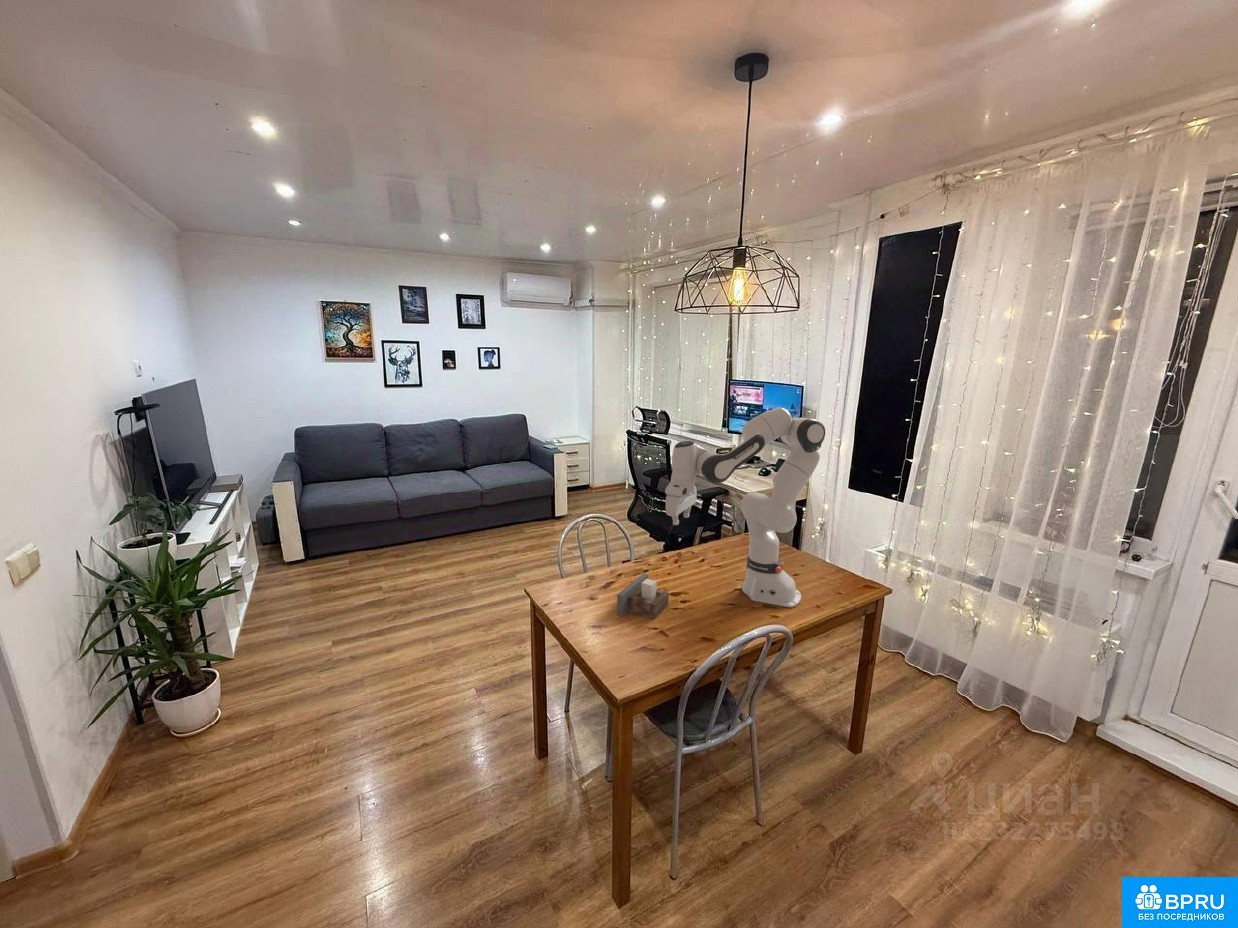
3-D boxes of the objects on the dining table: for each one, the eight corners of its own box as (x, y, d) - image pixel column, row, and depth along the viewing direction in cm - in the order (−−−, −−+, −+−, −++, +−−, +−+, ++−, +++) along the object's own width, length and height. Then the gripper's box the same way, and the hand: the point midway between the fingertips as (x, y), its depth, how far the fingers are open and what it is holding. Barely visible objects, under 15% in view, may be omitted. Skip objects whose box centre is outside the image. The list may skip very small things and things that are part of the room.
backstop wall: (647, 592, 194) (648, 574, 192) (621, 615, 178) (622, 595, 176) (643, 591, 195) (643, 572, 193) (617, 614, 179) (617, 594, 177)
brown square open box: (667, 606, 185) (668, 592, 183) (654, 620, 176) (655, 605, 174) (642, 598, 190) (642, 584, 189) (627, 611, 181) (628, 596, 180)
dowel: (646, 602, 186) (647, 578, 183) (655, 605, 184) (656, 581, 181) (641, 607, 182) (641, 582, 180) (650, 610, 180) (651, 585, 178)
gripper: (686, 477, 191) (684, 511, 195) (662, 490, 174) (661, 527, 178) (701, 480, 188) (699, 514, 192) (679, 493, 171) (677, 530, 175)
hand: (681, 520), depth 185 cm, fingers open, 8 cm apart
